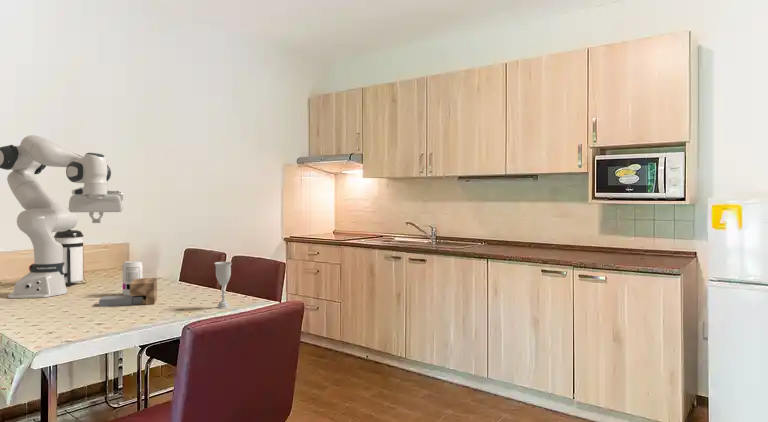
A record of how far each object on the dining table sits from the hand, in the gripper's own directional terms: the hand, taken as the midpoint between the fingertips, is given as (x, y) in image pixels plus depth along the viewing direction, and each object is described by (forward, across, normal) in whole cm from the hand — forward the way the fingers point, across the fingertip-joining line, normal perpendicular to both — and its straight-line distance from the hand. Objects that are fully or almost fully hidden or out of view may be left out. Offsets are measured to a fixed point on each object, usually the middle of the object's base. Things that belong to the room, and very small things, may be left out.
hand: (96, 223), depth 226 cm
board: (+33, -11, +12) cm, 37 cm away
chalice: (+33, -51, +32) cm, 69 cm away
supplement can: (+33, -13, -8) cm, 37 cm away
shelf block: (+33, -20, +11) cm, 40 cm away
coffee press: (+33, +21, -46) cm, 61 cm away
